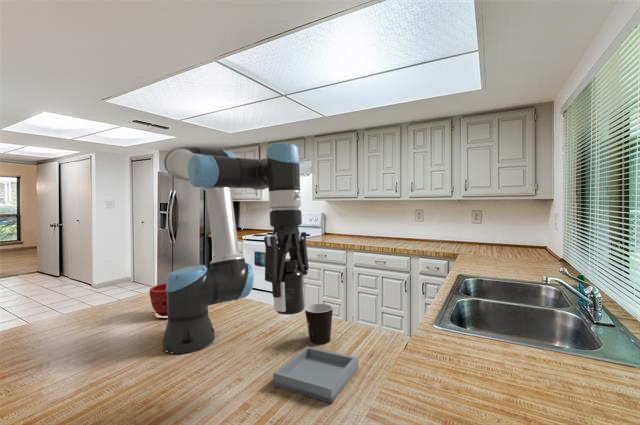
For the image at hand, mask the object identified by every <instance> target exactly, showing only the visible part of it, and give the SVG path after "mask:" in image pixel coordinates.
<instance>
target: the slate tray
mask: <svg viewBox="0 0 640 425" xmlns="http://www.w3.org/2000/svg"><path fill="white" fill-rule="evenodd" d="M358 371H359V357H357V356H353V355H349V354H344V353H339V352H335V351H330V350H327V349H321V348H316V347H312V346H305V347H304V348H303V349H302V350H300V351H299V352H298V353H296V354H295V355H294V356H293V357H292V358H290V359H289V360H287V362H285V363H284V364H283V365H281V366H280V367H279V368H278V369H276V370H275V371H274V372H273V373H272V377H273V378H272V380H273V386H274V387H275V388H276V387H277V388H279V389H282V390H286V391H289V392H292V393H295V394H299V395H303V396H304V397H309V398H311V399H315V400H319V401H322V402H325V403H328V404H333V403H334V402H335V401H336V399H337V398H338V397H339V395H340V394H341V393H342V391H343V390H344V389H345V387H346V386H347V385H348V384H349V382H350V381H351V380H352V378H353V377H354V376H355V374H357V372H358Z"/></svg>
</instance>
